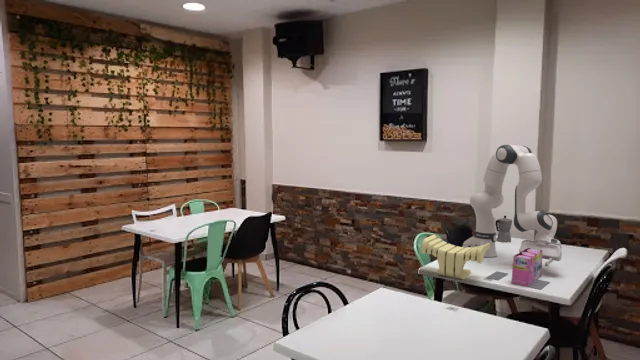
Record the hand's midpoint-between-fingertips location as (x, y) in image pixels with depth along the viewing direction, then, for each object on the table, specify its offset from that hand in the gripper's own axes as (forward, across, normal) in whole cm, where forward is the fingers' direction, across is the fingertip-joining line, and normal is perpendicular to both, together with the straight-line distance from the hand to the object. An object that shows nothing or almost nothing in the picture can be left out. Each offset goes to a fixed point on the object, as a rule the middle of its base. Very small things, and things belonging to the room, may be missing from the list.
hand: (536, 263), depth 232 cm
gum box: (+13, -1, -4) cm, 13 cm away
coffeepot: (-43, -41, +52) cm, 79 cm away
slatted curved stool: (+25, -31, -17) cm, 43 cm away
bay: (+15, -4, -7) cm, 17 cm away
